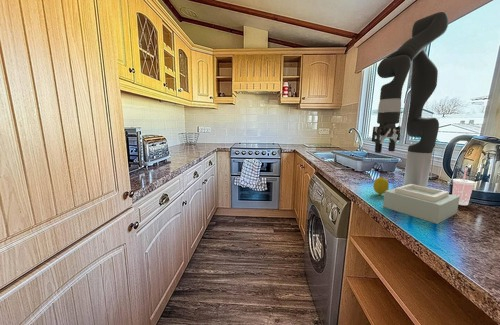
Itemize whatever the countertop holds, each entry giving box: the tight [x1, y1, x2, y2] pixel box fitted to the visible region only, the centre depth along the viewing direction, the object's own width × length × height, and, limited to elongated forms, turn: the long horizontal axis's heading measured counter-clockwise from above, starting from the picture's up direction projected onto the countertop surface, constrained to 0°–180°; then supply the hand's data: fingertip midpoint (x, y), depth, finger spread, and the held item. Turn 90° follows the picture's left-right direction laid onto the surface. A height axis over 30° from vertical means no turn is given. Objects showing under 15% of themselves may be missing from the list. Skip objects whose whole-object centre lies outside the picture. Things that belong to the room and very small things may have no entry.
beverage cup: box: [451, 167, 476, 206], centre depth 81 cm, size 6×6×14 cm
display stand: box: [382, 184, 460, 225], centre depth 75 cm, size 16×16×7 cm
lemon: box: [373, 176, 390, 196], centre depth 91 cm, size 6×6×8 cm
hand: (384, 152), depth 87 cm, fingers open, 8 cm apart
